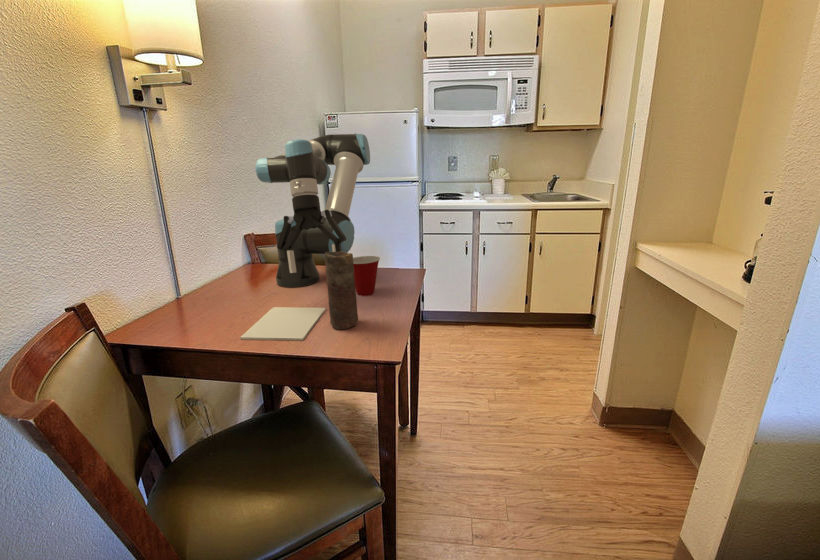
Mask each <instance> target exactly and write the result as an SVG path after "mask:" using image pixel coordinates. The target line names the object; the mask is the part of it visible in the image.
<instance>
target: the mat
mask: <svg viewBox="0 0 820 560" xmlns="http://www.w3.org/2000/svg"><path fill="white" fill-rule="evenodd" d="M326 310H327V308H326V307H295V306H294V307H291V306H290V307H286V306H284V307H282V306H276V307H275V306H273V307H272V308H270V310H269V311H267V312H266V313H265V314H264V315H263V316H261V318H260V319H258V320H257V321H256V322H255V323H254V324H253V325H252V326H250V328H249V329H248V330H247V331H245V332H244V333H243V334H242V335H241V336H240V337H239V338H240V340H247V341H248V340H249V341H250V340H252V341H253V340H255V341H296V342H297V341H300V342H301V341H304V340H305V338H306V337H307V336H308V335H309V333H310V332H311V331H312V329H313V328H314V327H315V325H316V324H317V322H318V321H319V319H321V317H322V316H323V314H324V313H325V311H326Z"/></svg>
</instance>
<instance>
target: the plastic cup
mask: <svg viewBox="0 0 820 560" xmlns="http://www.w3.org/2000/svg"><path fill="white" fill-rule="evenodd" d="M380 259H381V258H380V256H376V255H364V256H355V257H353V265H354V278H355V290H356V295H358V296H360V295H361V297H364V296H365V297H367V296H368V295H369V296H371V295H374V294H373V293H375V289H376V283H377V274H378V267H379V261H380Z"/></svg>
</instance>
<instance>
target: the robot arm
mask: <svg viewBox="0 0 820 560" xmlns="http://www.w3.org/2000/svg"><path fill="white" fill-rule="evenodd" d="M369 145H370V144H369V141H368V138H367V135H365V134H363V133H343V134H340V133H339V134H337V133H336V134H324V135H321V136H318V137H316V138H313V139H310V140H308V139H307V140H306V139H301V138H300V139H291V140H289V141H287V142H286V143H285V145H284V149H285V151H284V152H285V153H282V154H279V155H277V156H274V157H263V158H258V159H257V161H256V163H255V173H256V176H257V179H258V180H259V181H260V182H262V183H269V184H273V183H275V184H276V183H280V184H281V183H282V184H283V183H289V186H290V194H291V196H292V198H291V200H292V201H291V202H292V209H293V216H288V215H284V216H283V218H282V219H279V220H277V221H276V222H275V224H274V228H275V229H274V230H275V232H274V235H275V241H276V248H277V255H278V256H277V257H278V266H277V271H276V276H275V282H276V285H278V286H279V287H282V288H298V287H306V286H310V285H313V284H315V283H316V284H317V282H319V280H320V273H319V271H318V269H317V266H316V263H315V261H314V259H313V255H324V253H326V252H340V251H343V252H346V253H349V251H351V249H352V247H353V244H354V240H355V226H354V224H353V222H352V220H351V219H350V217H349V214H350V210H351V206H352V201H353V197H354V191H355V188H356V184H357V179H358V175H359V173H361V172H362V171H363V168H364V165H365V166H367V165H369V164H371V151H370V146H369ZM330 166H334V167H335V169H334V173H333V178H332V181H331V183H330V184H331V185H330V189H329V193H328V196H327V200H326V204H325V208H324V210H322V211H321V205H320V204H321V203H320V202H321V201H320V197H319V195H318V194H319V189H318V185H324V184H326V183H327V182H328V181H329V180H330V178H331V176H332V175H331V167H330Z"/></svg>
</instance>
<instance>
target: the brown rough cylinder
mask: <svg viewBox="0 0 820 560" xmlns="http://www.w3.org/2000/svg"><path fill="white" fill-rule="evenodd" d="M323 256H324V264H325V276H326V285H327V298H328V308H329V309H328V311H329V320H330V325H331V326H332V328H333V329H334V330H347V329H349V328H351V327H353V326H356V325H357V323H358V322H359V316H358V315H359V314H358V304H357V303H358V302H357V292H356V289H355V278H354V265H353V258H354V257H353V253H351V252H350V253H349V252H347V253H346V252H343V251H340V252H326V253H324V254H323Z"/></svg>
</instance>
